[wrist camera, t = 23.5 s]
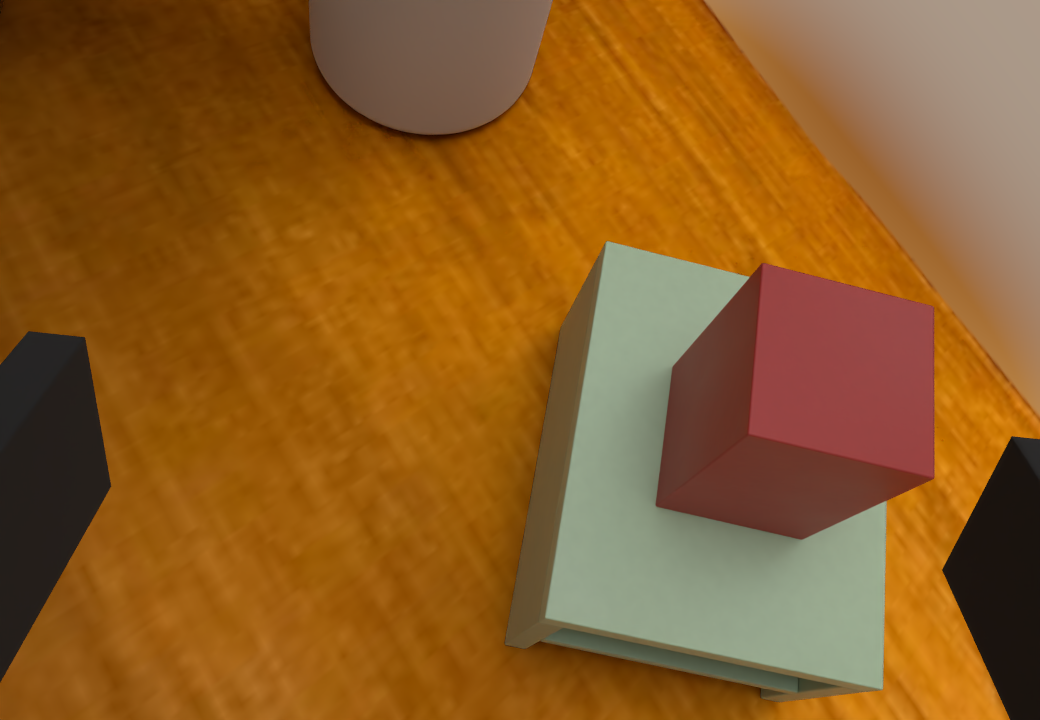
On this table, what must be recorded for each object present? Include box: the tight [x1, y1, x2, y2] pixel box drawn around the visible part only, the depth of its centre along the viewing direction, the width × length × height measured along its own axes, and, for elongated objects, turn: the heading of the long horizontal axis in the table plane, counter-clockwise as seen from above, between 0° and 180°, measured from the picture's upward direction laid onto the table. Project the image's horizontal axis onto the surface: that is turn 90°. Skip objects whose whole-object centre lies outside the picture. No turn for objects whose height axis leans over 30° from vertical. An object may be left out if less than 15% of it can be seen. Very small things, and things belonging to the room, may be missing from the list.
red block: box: [656, 263, 934, 540], centre depth 34 cm, size 6×6×9 cm
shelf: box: [505, 241, 886, 702], centre depth 42 cm, size 16×13×9 cm
